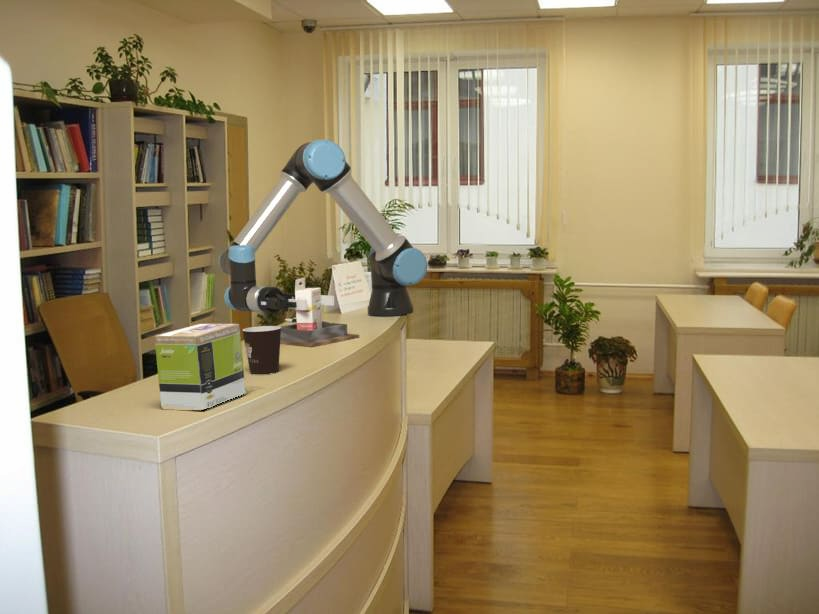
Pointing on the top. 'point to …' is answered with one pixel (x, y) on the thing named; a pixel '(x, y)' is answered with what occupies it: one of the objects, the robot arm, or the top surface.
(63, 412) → the top surface
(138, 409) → the top surface
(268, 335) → the coffee mug
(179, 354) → the tea box
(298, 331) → the cartridge holder
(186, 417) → the top surface
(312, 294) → the ink cartridge box
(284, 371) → the top surface
